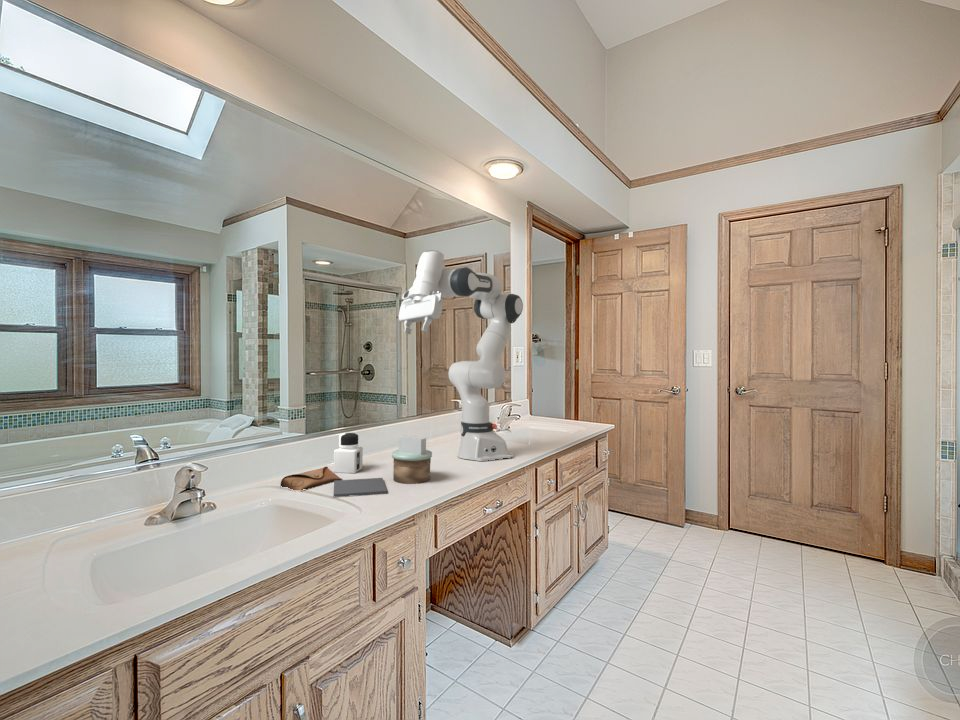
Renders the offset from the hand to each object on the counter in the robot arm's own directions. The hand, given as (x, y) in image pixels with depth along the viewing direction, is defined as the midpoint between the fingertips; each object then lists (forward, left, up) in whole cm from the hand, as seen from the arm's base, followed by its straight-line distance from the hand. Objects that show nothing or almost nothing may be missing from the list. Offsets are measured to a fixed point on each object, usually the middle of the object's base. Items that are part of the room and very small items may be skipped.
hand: (415, 332), depth 154 cm
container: (+21, -14, -49) cm, 55 cm away
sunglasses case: (+31, +1, -49) cm, 58 cm away
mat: (+18, +9, -49) cm, 53 cm away
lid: (+1, +2, -43) cm, 43 cm away
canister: (+1, +2, -49) cm, 49 cm away
